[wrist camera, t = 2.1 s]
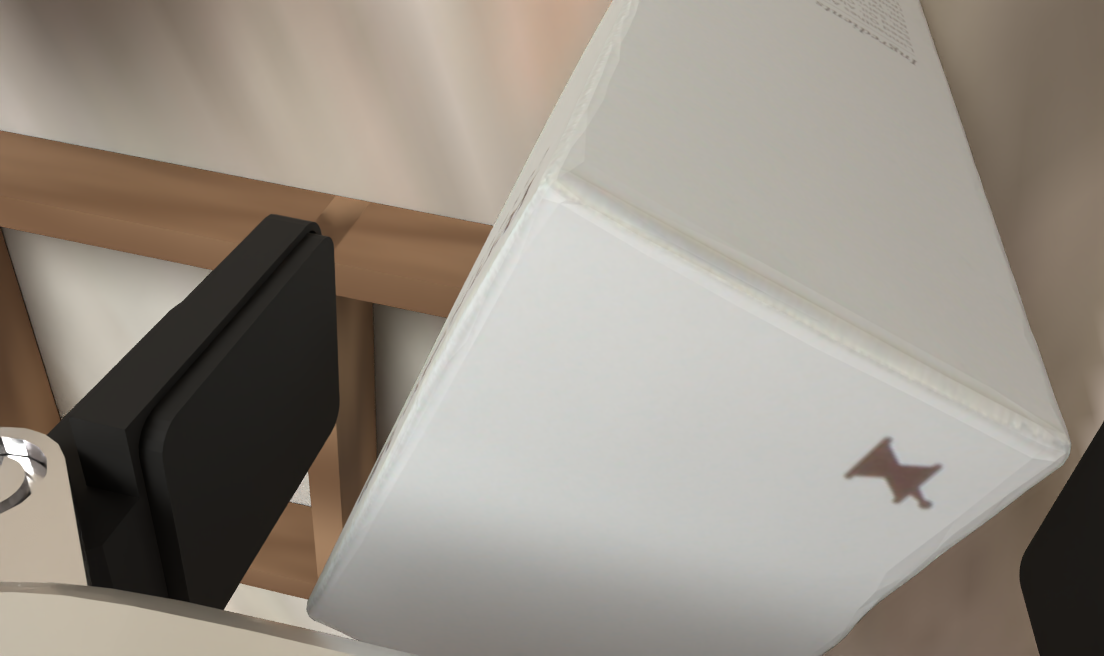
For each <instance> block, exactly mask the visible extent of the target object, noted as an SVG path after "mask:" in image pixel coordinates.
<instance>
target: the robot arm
mask: <svg viewBox="0 0 1104 656" xmlns="http://www.w3.org/2000/svg"><path fill="white" fill-rule="evenodd" d="M339 406H340V395H339V368H338V340H337V313H336V285H335V258H334V244H333V241H332V239H331V238H330V237H328V236H323V235H322V233H321V229H320V227H319V225H318V224H317V223H316V222H312V221H307V220H302V219H297V218H292V217H287V216H282V215H277V214H270V215H268V216H267V217H265V218H264V219H263V220H262V221H261V222H260V223H259V224H258V225H257V226H256V227H255V228H254V229H253V230H252V231H251V232H250V233H249V234H248V236H247V237H246V238H245V239H244V240H243V241H242V242H241V243H240V244H239V245H238V246H237V247H236V248H235V249H234V250H233V251H232V252H231V253H230V254H229V255H228V256H227V257H226V258H225V259H224V260H223V261H222V262H221V263H220V264H219V265H218V266H217V267H216V268H215V269H214V270H213V271H212V272H211V273H210V274H209V275H208V276H207V277H206V278H205V279H204V280H203V281H202V282H201V283H200V284H199V285H198V286H197V287H196V288H195V289H194V290H193V291H192V292H191V293H190V294H189V295H188V296H187V297H186V298H185V299H184V300H183V301H182V302H181V303H179V304H178V305H177V306H175V307H174V308H173V309H171V310H170V311H169V312H168V313H167V314H166V315H165V316H164V317H163V318H162V319H161V320H160V321H159V322H158V323H157V324H156V325H155V326H154V327H153V328H152V329H151V330H150V331H149V332H148V333H147V334H146V335H145V336H144V337H143V338H142V339H141V340H140V341H139V342H138V343H137V344H136V345H135V346H134V347H133V348H132V349H131V350H130V351H129V352H128V353H127V354H126V355H125V356H124V357H123V358H122V359H121V360H120V361H119V363H118V364H117V365H116V366H115V367H114V368H113V369H112V370H111V371H110V372H109V373H108V374H107V375H106V376H105V377H104V378H103V379H102V380H101V381H100V382H99V383H98V384H97V385H96V386H95V387H94V388H93V389H92V390H91V391H90V392H89V393H88V394H87V395H86V396H85V397H84V398H83V399H82V400H81V401H80V402H79V403H78V404H77V405H76V406H75V407H74V408H73V409H72V410H71V411H70V412H69V413H68V414H67V415H66V416H65V417H64V418H63V419H62V420H61V421H60V422H59V423H58V424H57V425H56V426H55V427H54V428H53V429H52V430H51V431H50V432H49V433H48V434H47V435H45V434H43V433H40V432H37V431H33V430H30V429H27V428H14V427H0V656H419V655H414V654H410V653H406V652H402V651H398V650H394V649H390V648H385V647H381V646H377V645H373V644H369V643H365V642H361V641H356V640H352V639H348V638H344V637H340V636H336V635H331V634H327V633H323V632H319V631H314V630H310V629H305V628H301V627H296V626H292V625H287V624H283V623H279V622H274V621H270V620H265V619H261V618H256V617H252V616H247V615H243V614H238V613H234V612H229V611H225V610H224V608H225V607H226V605H227V603H228V602H229V600H230V598H231V597H232V595H233V594H234V592H235V590H236V589H237V587H238V585H239V584H240V582H241V580H242V579H243V577H244V575H245V574H246V572H247V571H248V569H249V567H250V566H251V564H252V562H253V561H254V559H255V557H256V556H257V554H258V552H259V551H260V549H261V547H262V546H263V544H264V543H265V541H266V539H267V538H268V536H269V534H270V533H271V531H272V529H273V528H274V526H275V524H276V523H277V521H278V520H279V518H280V516H281V515H282V513H283V511H284V510H285V508H286V506H287V505H288V503H289V501H290V500H291V498H292V497H293V495H294V493H295V492H296V490H297V488H298V487H299V485H300V483H301V482H302V480H303V478H304V477H305V475H306V473H307V472H308V470H309V469H310V467H311V465H312V464H313V462H314V460H315V459H316V457H317V455H318V454H319V452H320V450H321V449H322V447H323V446H324V444H325V442H326V441H327V439H328V437H329V436H330V434H331V432H332V430H333V428H334V426H335V424H336V421H337V417H338V413H339ZM1020 584H1021V589H1022V592H1023V596H1024V600H1025V603H1026V607H1027V611H1028V614H1029V618H1030V621H1031V625H1032V629H1033V632H1034V636H1035V640H1036V643H1037V647H1038V651H1039V654H1040V656H1104V422H1103V424H1102V425H1101V427H1100V429H1099V430H1098V432H1097V433H1096V435H1095V437H1094V438H1093V440H1092V442H1091V443H1090V445H1089V447H1088V448H1087V450H1086V452H1085V453H1084V455H1083V457H1082V458H1081V460H1080V462H1079V463H1078V465H1077V467H1076V468H1075V470H1074V472H1073V473H1072V475H1071V476H1070V478H1069V480H1068V481H1067V483H1066V485H1065V486H1064V488H1063V490H1062V491H1061V493H1060V495H1059V496H1058V498H1057V500H1056V501H1055V503H1054V505H1053V506H1052V508H1051V510H1050V511H1049V513H1048V515H1047V516H1046V518H1045V519H1044V521H1043V523H1042V524H1041V526H1040V528H1039V529H1038V531H1037V533H1036V534H1035V536H1034V538H1033V539H1032V541H1031V543H1030V544H1029V546H1028V548H1027V549H1026V551H1025V553H1024V555H1023V557H1022V561H1021V565H1020Z"/></svg>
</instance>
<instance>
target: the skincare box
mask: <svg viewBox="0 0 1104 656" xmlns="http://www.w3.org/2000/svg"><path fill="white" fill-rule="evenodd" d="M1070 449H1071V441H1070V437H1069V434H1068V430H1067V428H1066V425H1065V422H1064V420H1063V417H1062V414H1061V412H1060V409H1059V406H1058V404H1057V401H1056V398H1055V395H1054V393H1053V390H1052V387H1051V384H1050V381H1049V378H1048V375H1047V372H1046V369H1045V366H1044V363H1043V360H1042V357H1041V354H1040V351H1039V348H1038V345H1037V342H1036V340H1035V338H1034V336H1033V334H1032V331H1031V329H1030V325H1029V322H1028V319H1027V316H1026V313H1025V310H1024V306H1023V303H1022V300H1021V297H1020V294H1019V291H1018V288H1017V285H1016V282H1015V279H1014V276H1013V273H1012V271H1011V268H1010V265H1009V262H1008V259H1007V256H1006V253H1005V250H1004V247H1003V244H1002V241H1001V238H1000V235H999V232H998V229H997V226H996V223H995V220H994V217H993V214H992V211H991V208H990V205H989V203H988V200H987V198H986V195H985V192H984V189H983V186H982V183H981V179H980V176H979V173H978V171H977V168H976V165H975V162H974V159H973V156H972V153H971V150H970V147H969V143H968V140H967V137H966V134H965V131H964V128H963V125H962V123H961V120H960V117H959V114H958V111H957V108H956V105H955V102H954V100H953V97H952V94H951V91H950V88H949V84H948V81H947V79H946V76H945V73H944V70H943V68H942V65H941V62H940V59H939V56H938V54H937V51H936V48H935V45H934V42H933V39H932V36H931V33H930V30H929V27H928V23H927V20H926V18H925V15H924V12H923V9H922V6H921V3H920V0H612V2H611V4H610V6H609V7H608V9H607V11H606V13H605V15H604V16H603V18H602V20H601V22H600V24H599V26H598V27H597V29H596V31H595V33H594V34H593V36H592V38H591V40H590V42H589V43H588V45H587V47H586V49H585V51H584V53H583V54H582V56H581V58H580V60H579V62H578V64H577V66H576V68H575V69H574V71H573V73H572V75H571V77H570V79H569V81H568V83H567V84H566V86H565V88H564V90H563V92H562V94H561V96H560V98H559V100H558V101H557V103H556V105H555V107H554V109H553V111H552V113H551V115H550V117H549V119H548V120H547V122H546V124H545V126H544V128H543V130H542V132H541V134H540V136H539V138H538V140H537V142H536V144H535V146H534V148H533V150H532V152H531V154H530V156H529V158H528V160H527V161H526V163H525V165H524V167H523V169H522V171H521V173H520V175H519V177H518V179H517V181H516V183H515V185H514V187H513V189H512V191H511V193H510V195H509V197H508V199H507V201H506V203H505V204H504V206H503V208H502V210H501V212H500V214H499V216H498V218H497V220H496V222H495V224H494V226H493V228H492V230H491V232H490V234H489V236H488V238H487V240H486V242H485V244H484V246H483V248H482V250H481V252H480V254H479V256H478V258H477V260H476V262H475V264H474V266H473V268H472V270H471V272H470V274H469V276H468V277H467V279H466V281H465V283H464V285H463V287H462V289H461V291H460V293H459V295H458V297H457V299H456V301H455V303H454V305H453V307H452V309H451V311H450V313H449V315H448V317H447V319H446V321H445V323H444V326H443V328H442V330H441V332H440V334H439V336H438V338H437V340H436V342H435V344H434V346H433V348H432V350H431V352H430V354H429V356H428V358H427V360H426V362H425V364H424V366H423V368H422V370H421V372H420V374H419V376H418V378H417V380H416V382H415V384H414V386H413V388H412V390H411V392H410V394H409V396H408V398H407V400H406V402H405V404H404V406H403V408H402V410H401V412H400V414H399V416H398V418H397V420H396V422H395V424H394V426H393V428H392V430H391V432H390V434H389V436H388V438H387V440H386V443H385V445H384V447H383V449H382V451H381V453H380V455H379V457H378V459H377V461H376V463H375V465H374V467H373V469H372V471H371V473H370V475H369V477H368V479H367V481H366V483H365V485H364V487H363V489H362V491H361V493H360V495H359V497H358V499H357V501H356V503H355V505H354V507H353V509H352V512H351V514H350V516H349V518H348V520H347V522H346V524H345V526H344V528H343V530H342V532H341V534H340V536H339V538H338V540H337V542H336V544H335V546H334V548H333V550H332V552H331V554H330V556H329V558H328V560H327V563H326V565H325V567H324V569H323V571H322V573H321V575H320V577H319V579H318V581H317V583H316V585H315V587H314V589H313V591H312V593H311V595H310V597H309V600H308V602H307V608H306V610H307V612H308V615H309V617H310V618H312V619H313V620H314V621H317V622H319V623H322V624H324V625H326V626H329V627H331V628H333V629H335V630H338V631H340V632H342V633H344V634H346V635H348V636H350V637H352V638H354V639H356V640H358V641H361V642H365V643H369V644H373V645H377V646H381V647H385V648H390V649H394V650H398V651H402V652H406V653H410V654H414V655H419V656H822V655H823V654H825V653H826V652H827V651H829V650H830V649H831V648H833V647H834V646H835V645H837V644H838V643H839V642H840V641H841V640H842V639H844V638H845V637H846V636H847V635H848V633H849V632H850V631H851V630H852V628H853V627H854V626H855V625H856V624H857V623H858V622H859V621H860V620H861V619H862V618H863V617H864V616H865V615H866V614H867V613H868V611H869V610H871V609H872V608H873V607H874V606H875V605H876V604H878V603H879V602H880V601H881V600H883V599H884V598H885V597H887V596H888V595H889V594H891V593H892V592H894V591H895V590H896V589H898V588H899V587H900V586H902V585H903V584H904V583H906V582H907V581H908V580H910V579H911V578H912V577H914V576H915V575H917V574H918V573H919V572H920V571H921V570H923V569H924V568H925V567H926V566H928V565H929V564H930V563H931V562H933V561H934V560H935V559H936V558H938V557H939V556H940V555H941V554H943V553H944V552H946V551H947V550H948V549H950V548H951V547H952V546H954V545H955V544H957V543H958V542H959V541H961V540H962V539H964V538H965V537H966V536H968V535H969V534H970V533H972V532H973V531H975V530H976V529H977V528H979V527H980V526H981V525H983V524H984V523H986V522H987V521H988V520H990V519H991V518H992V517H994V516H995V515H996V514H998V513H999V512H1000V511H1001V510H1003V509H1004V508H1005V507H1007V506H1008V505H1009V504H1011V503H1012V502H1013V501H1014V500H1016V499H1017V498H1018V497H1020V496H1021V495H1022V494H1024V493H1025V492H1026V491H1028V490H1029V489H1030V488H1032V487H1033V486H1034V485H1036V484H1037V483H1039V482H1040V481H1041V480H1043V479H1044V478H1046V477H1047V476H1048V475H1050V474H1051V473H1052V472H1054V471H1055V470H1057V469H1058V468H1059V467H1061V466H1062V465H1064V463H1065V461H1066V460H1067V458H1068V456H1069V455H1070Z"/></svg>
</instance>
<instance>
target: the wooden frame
mask: <svg viewBox="0 0 1104 656" xmlns="http://www.w3.org/2000/svg"><path fill="white" fill-rule="evenodd" d="M270 214H277V215H282V216H287V217H292V218H297V219H302V220H307V221H312V222H316V223H317V224H318V225H319V227H320V229H321V233H322V235H323V236H328V237H330V238H331V239H332V241H333V244H334V258H335V285H336V313H337V340H338V368H339V395H340V406H339V413H338V417H337V421H336V424H335V426H334V428H333V430H332V432H331V434H330V436H329V437H328V439H327V441H326V442H325V444H324V446H323V447H322V449H321V450H320V452H319V454H318V455H317V457H316V459H315V460H314V462H313V464H312V465H311V467H310V469H309V470H308V474H309V486H310V497H311V507H309V506H305V505H300V504H296V503H292V502H289V503H288V505H287V506H286V508H285V510H284V511H283V513H282V515H281V516H280V518H279V520H278V521H277V523H276V524H275V526H274V528H273V529H272V531H271V533H270V534H269V536H268V538H267V539H266V541H265V543H264V544H263V546H262V547H261V549H260V551H259V552H258V554H257V556H256V557H255V559H254V561H253V562H252V564H251V566H250V567H249V569H248V571H247V572H246V574H245V575H244V577H243V579H242V580H241V582H240V583H242V584H246V585H250V586H254V587H258V588H262V589H267V590H271V591H275V592H279V593H283V594H287V595H292V596H296V597H300V598H304V599H308V600H309V597H310V595H311V593H312V591H313V589H314V587H315V585H316V583H317V581H318V579H319V577H320V575H321V573H322V571H323V569H324V567H325V565H326V563H327V560H328V558H329V556H330V554H331V552H332V550H333V548H334V546H335V544H336V542H337V540H338V538H339V536H340V534H341V532H342V530H343V528H344V526H345V524H346V522H347V520H348V518H349V516H350V514H351V512H352V509H353V507H354V505H355V503H356V501H357V499H358V497H359V495H360V493H361V491H362V489H363V487H364V485H365V483H366V481H367V479H368V477H369V475H370V473H371V471H372V469H373V467H374V465H375V463H376V461H377V451H376V410H375V370H374V329H373V303H377V304H382V305H386V306H391V307H396V308H401V309H406V310H411V311H416V312H421V313H425V314H430V315H435V316H440V317H445V318H447V317H448V315H449V313H450V311H451V309H452V307H453V305H454V303H455V301H456V299H457V297H458V295H459V293H460V291H461V289H462V287H463V285H464V283H465V281H466V279H467V277H468V276H469V274H470V272H471V270H472V268H473V266H474V264H475V262H476V260H477V258H478V256H479V254H480V252H481V250H482V248H483V246H484V244H485V242H486V240H487V238H488V236H489V234H490V232H491V230H492V228H493V226H491V225H486V224H481V223H476V222H470V221H465V220H460V219H455V218H450V217H445V216H439V215H434V214H429V213H424V212H419V211H414V210H408V209H403V208H398V207H393V206H388V205H383V204H377V203H372V202H367V201H362V200H357V199H352V198H346V197H341V196H336V195H331V194H326V193H321V192H315V191H310V190H305V189H300V188H295V187H290V186H284V185H279V184H274V183H269V182H264V181H259V180H253V179H248V178H243V177H238V176H233V175H228V174H222V173H217V172H212V171H207V170H202V169H197V168H191V167H186V166H181V165H176V164H171V163H166V162H160V161H155V160H150V159H145V158H140V157H135V156H129V155H124V154H119V153H114V152H109V151H104V150H98V149H93V148H88V147H83V146H78V145H73V144H67V143H62V142H57V141H52V140H47V139H42V138H36V137H31V136H26V135H21V134H16V133H11V132H5V131H0V226H1V227H6V228H11V229H15V230H20V231H25V232H30V233H35V234H40V235H45V236H50V237H54V238H59V239H64V240H69V241H74V242H79V243H84V244H89V245H94V246H98V247H103V248H108V249H113V250H118V251H123V252H128V253H133V254H137V255H142V256H147V257H152V258H157V259H162V260H167V261H172V262H177V263H181V264H186V265H191V266H196V267H201V268H206V269H211V270H214V269H215V268H216V267H217V266H218V265H219V264H220V263H221V262H222V261H223V260H224V259H225V258H226V257H227V256H228V255H229V254H230V253H231V252H232V251H233V250H234V249H235V248H236V247H237V246H238V245H239V244H240V243H241V242H242V241H243V240H244V239H245V238H246V237H247V236H248V234H249V233H250V232H251V231H252V230H253V229H254V228H255V227H256V226H257V225H258V224H259V223H260V222H261V221H262V220H263V219H264V218H265V217H267V216H268V215H270ZM59 422H60V417H59V414H58V411H57V408H56V405H55V401H54V398H53V395H52V392H51V389H50V385H49V382H48V379H47V376H46V372H45V369H44V366H43V363H42V360H41V356H40V353H39V350H38V347H37V344H36V340H35V337H34V334H33V331H32V328H31V324H30V321H29V318H28V315H27V312H26V308H25V305H24V302H23V299H22V295H21V292H20V289H19V286H18V283H17V279H16V276H15V273H14V270H13V267H12V263H11V260H10V257H9V254H8V251H7V247H6V244H5V241H4V238H3V235H2V231H1V228H0V427H14V428H27V429H30V430H33V431H37V432H40V433H43V434H45V435H47V434H48V433H49V432H50V431H51V430H52V429H53V428H54V427H55V426H56V425H57V424H58V423H59Z"/></svg>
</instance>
